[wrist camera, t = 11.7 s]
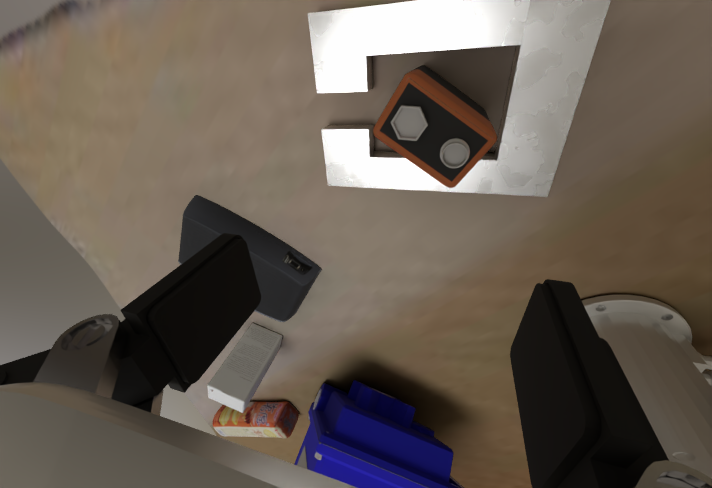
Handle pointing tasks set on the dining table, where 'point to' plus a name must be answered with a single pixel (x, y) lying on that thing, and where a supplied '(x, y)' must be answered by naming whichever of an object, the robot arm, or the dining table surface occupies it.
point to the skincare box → (244, 368)
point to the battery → (435, 126)
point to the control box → (372, 442)
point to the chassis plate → (462, 31)
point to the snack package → (257, 420)
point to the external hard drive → (252, 256)
